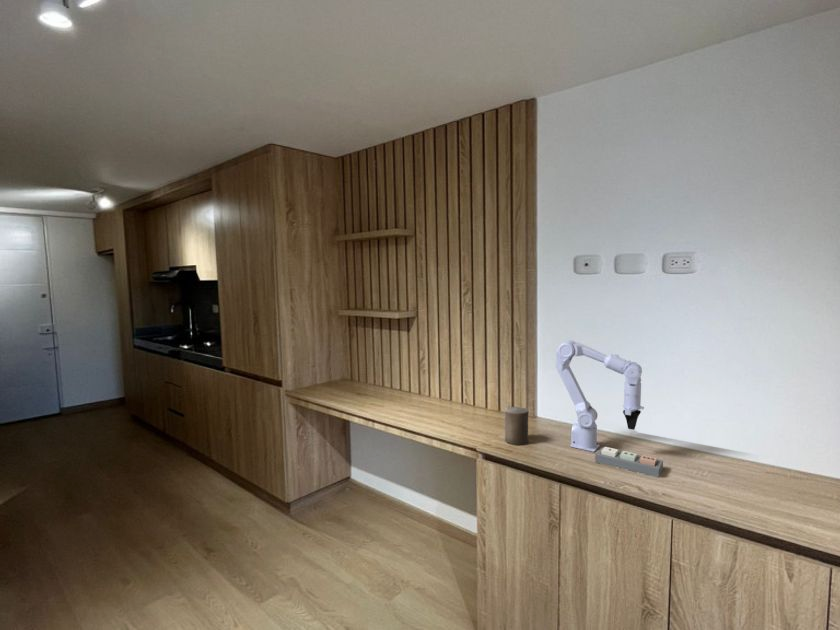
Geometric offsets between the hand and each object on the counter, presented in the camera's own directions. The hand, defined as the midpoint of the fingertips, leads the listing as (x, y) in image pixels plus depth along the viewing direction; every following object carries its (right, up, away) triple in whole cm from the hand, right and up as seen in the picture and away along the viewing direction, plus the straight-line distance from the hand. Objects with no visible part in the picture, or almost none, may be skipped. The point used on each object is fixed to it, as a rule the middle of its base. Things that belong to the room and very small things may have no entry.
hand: (631, 428), depth 167 cm
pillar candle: (-41, -10, +16) cm, 45 cm away
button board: (-6, -11, -9) cm, 15 cm away
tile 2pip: (-6, -11, -9) cm, 15 cm away
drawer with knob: (-11, -11, -5) cm, 16 cm away
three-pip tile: (0, -11, -13) cm, 17 cm away
